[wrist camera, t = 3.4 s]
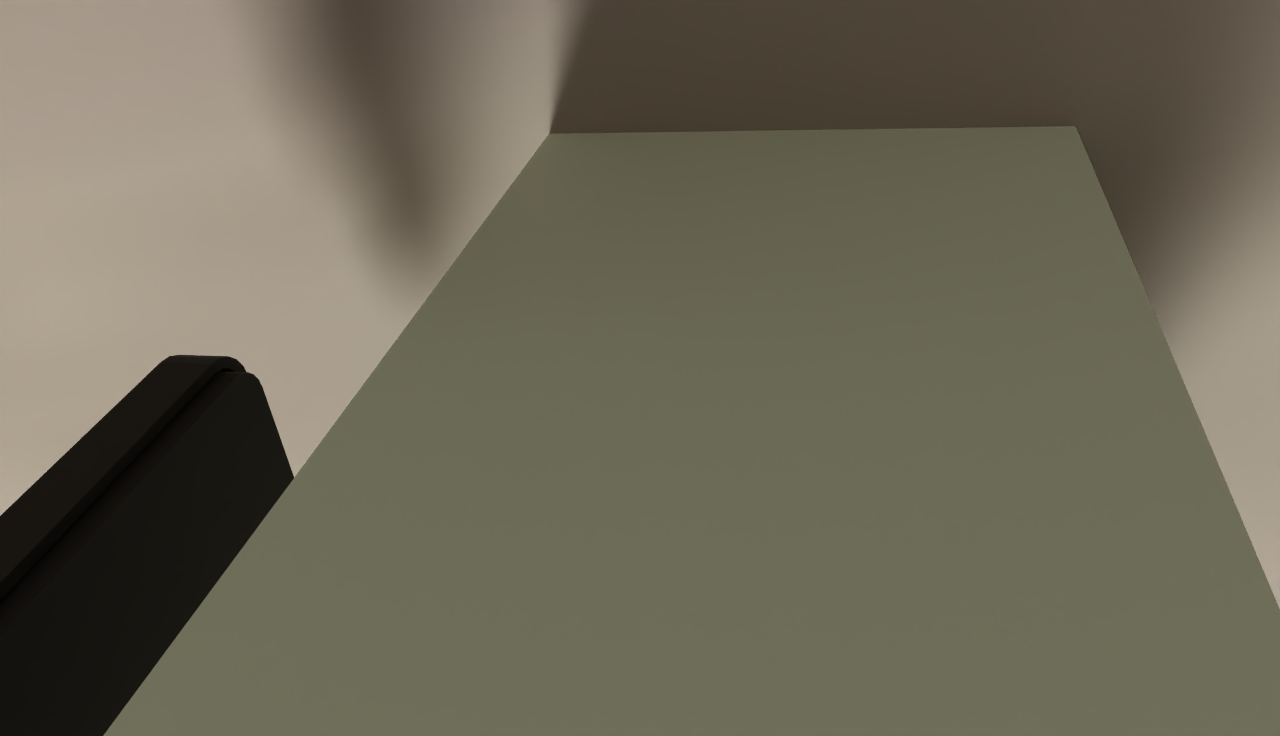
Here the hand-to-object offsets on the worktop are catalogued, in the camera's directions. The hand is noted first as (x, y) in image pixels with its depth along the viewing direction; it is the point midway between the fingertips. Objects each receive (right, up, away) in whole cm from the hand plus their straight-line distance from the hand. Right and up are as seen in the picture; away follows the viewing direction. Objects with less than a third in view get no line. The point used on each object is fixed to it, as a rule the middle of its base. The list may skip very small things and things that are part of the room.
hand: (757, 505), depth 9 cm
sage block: (+1, +1, +2) cm, 3 cm away
